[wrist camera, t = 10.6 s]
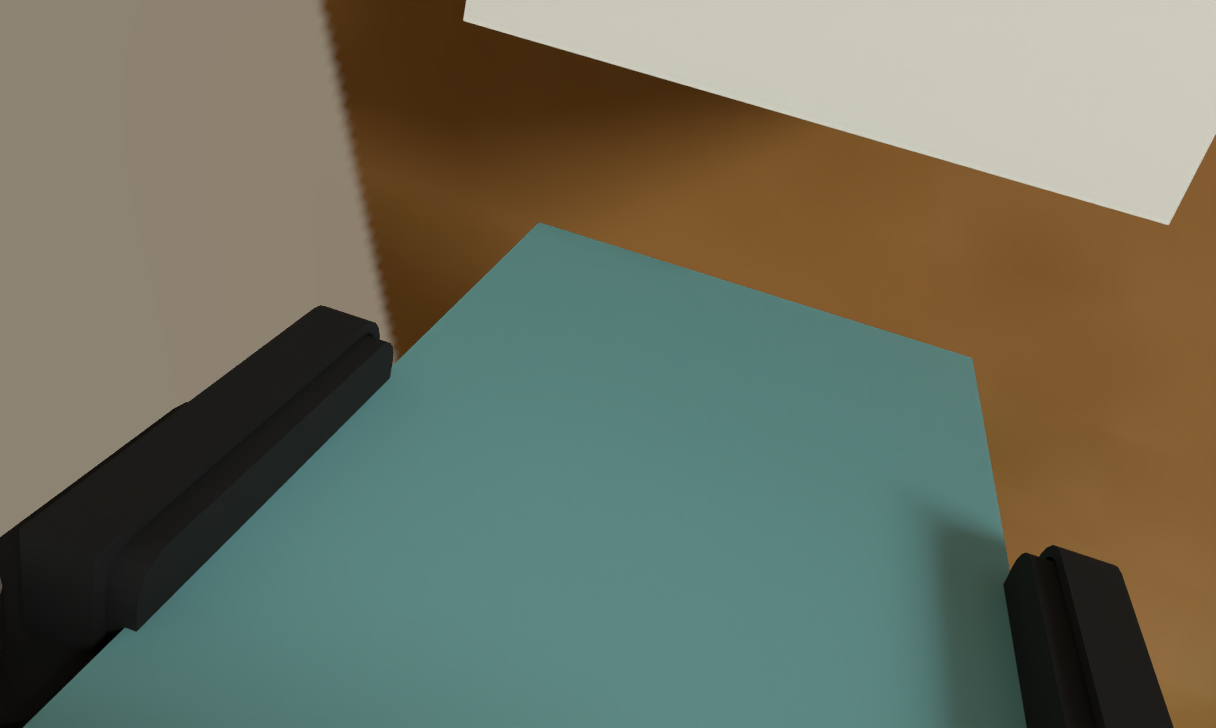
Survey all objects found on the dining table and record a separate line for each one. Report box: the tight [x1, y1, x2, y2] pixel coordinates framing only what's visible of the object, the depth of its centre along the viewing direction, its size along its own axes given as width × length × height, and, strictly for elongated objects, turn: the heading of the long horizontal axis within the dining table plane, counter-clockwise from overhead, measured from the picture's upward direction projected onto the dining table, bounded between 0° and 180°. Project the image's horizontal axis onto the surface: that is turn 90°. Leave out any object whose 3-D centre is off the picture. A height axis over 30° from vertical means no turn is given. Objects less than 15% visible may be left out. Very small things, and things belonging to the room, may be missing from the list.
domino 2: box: [23, 222, 1027, 728], centre depth 9 cm, size 2×6×11 cm, turn 77°
